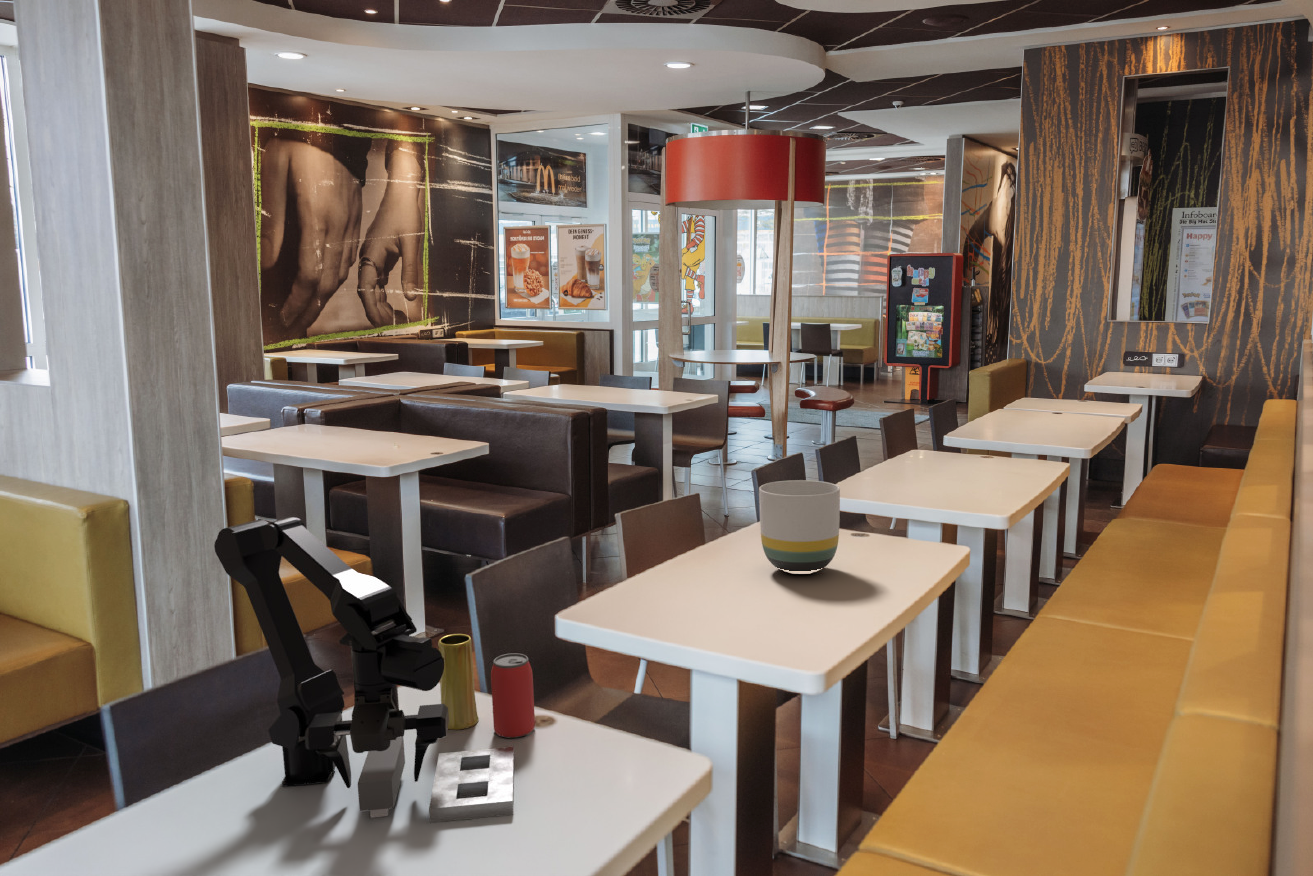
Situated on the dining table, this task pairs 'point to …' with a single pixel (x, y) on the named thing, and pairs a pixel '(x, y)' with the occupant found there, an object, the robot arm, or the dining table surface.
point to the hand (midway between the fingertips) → (383, 783)
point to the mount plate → (473, 785)
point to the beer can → (512, 695)
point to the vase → (458, 681)
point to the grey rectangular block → (381, 779)
